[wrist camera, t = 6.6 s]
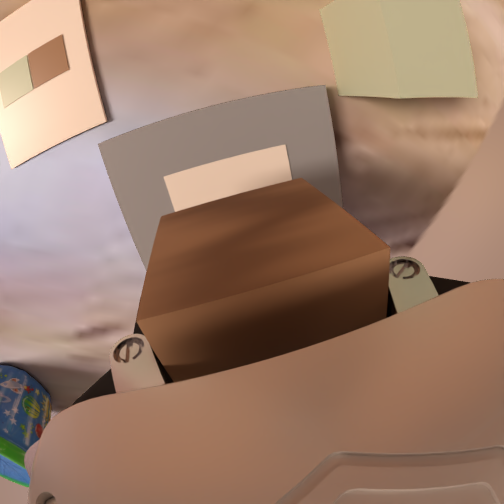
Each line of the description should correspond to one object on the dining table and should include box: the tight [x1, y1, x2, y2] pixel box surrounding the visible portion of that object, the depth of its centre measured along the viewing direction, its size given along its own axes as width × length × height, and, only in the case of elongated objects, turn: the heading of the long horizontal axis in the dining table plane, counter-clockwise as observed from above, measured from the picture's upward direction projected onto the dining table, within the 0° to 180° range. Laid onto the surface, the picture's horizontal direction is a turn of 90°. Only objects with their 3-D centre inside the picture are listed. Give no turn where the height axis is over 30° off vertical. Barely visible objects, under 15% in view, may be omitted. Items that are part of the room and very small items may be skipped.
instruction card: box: [0, 0, 107, 169], centre depth 11 cm, size 7×10×1 cm
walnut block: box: [136, 178, 390, 382], centre depth 10 cm, size 6×6×6 cm
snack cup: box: [0, 365, 51, 487], centre depth 17 cm, size 16×10×10 cm
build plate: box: [98, 85, 343, 271], centre depth 17 cm, size 12×12×1 cm
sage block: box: [319, 0, 478, 99], centre depth 11 cm, size 6×6×6 cm
